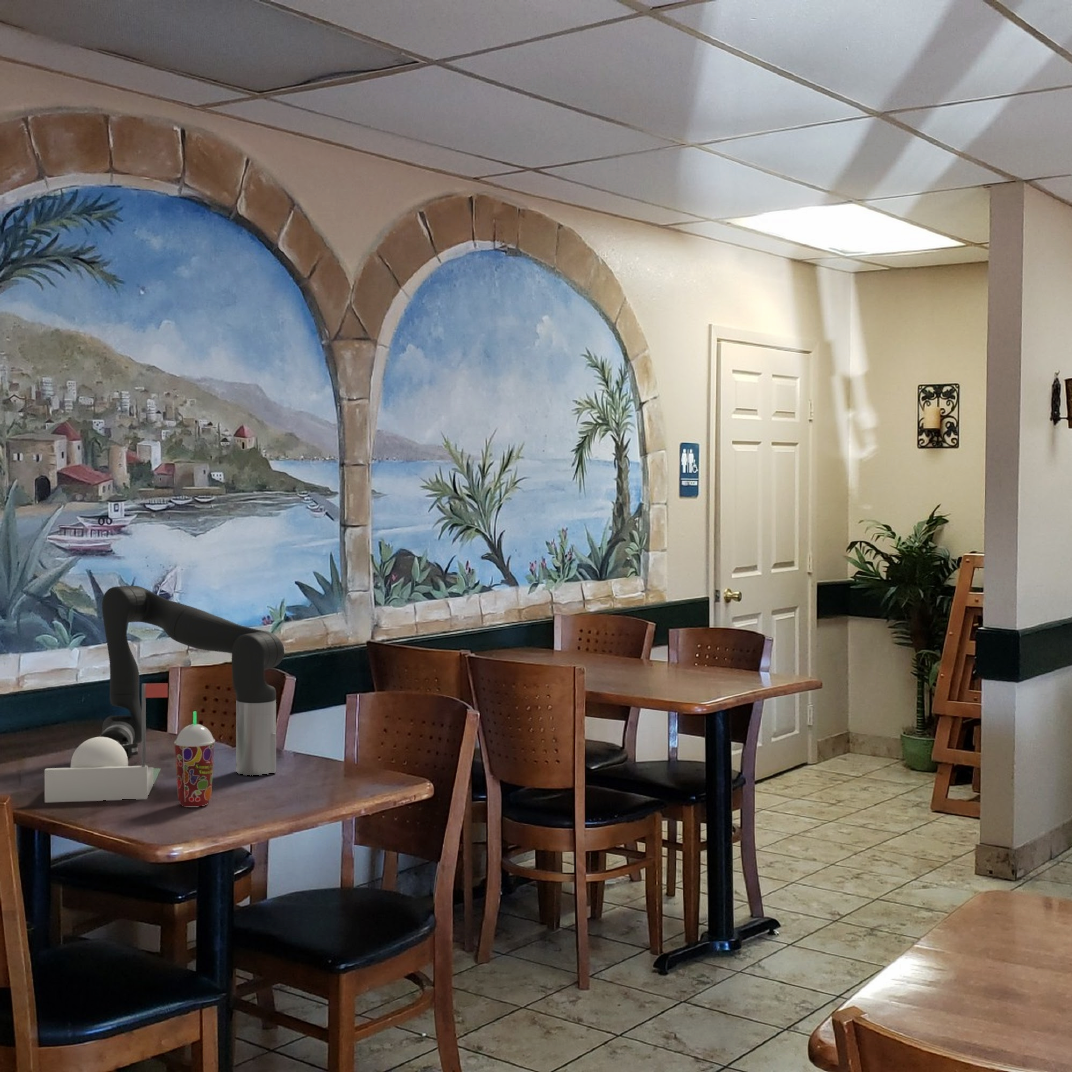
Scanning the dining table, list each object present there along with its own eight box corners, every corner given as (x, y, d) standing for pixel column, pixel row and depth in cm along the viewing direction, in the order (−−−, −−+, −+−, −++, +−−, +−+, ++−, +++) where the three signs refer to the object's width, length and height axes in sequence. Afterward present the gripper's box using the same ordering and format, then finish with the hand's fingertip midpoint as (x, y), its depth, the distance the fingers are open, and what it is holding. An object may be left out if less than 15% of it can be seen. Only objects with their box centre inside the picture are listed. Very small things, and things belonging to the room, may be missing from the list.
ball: (126, 724, 285) (121, 770, 277) (133, 756, 294) (128, 801, 285) (70, 727, 283) (62, 773, 275) (78, 758, 292) (71, 803, 284)
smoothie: (204, 810, 270) (204, 715, 269) (167, 808, 271) (167, 713, 271) (221, 801, 278) (221, 709, 277) (185, 799, 280) (185, 707, 279)
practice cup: (178, 769, 309) (178, 665, 308) (167, 798, 280) (167, 683, 279) (68, 772, 304) (67, 666, 303) (44, 802, 275) (44, 686, 274)
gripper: (86, 727, 306) (74, 741, 289) (144, 726, 308) (135, 740, 291) (86, 758, 306) (74, 775, 289) (144, 757, 309) (135, 773, 292)
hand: (104, 757), depth 290 cm, fingers closed
